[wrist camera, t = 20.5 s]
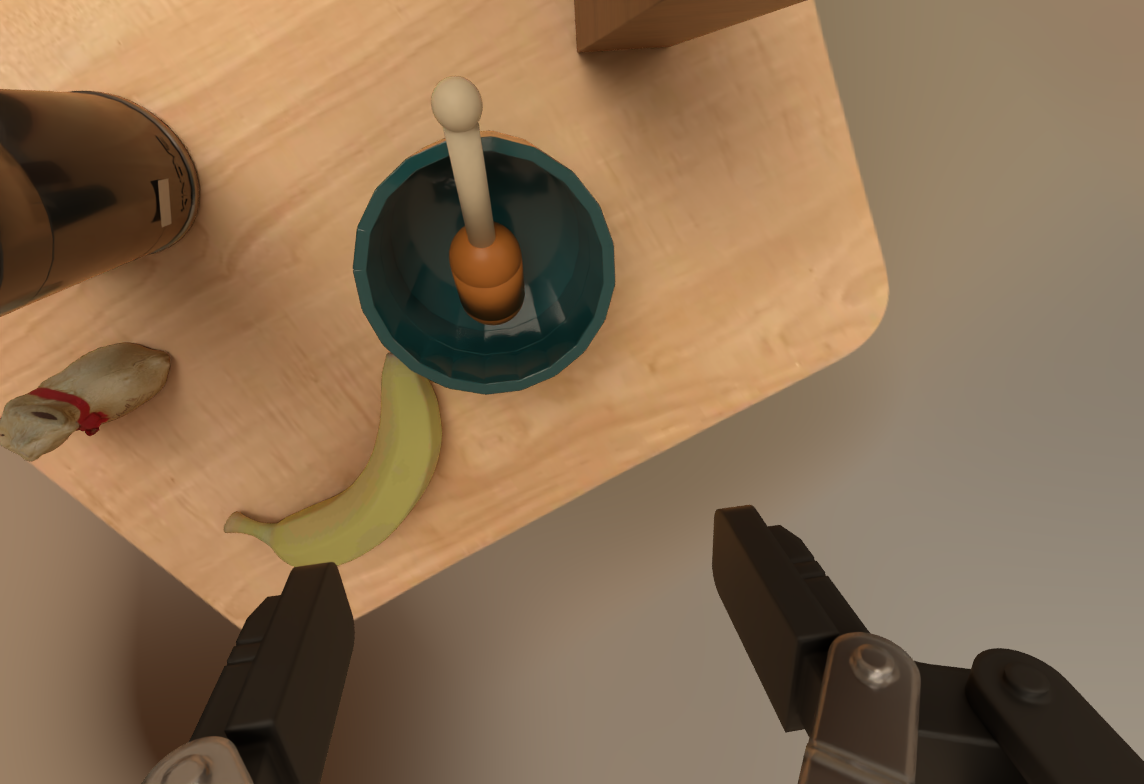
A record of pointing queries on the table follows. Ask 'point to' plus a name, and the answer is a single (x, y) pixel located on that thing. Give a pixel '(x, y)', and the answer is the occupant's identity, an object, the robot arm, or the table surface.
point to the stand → (659, 21)
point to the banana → (366, 482)
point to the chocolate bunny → (83, 398)
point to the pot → (426, 284)
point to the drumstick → (477, 213)
